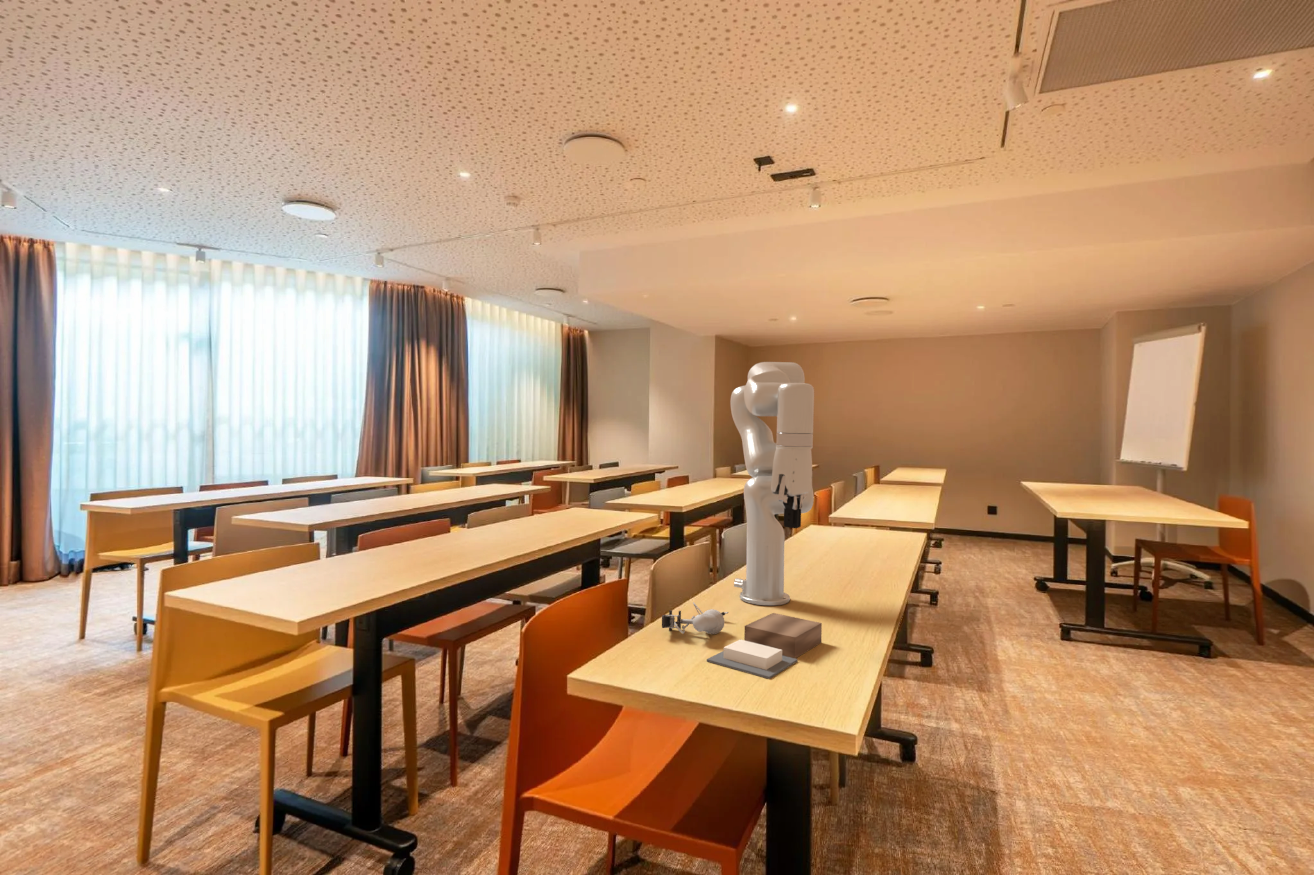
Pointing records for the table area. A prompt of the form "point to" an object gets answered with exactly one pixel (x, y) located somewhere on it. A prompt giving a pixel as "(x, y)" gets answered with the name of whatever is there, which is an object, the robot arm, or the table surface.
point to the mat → (751, 669)
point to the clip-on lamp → (696, 621)
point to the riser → (785, 634)
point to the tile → (753, 654)
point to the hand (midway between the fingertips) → (792, 526)
